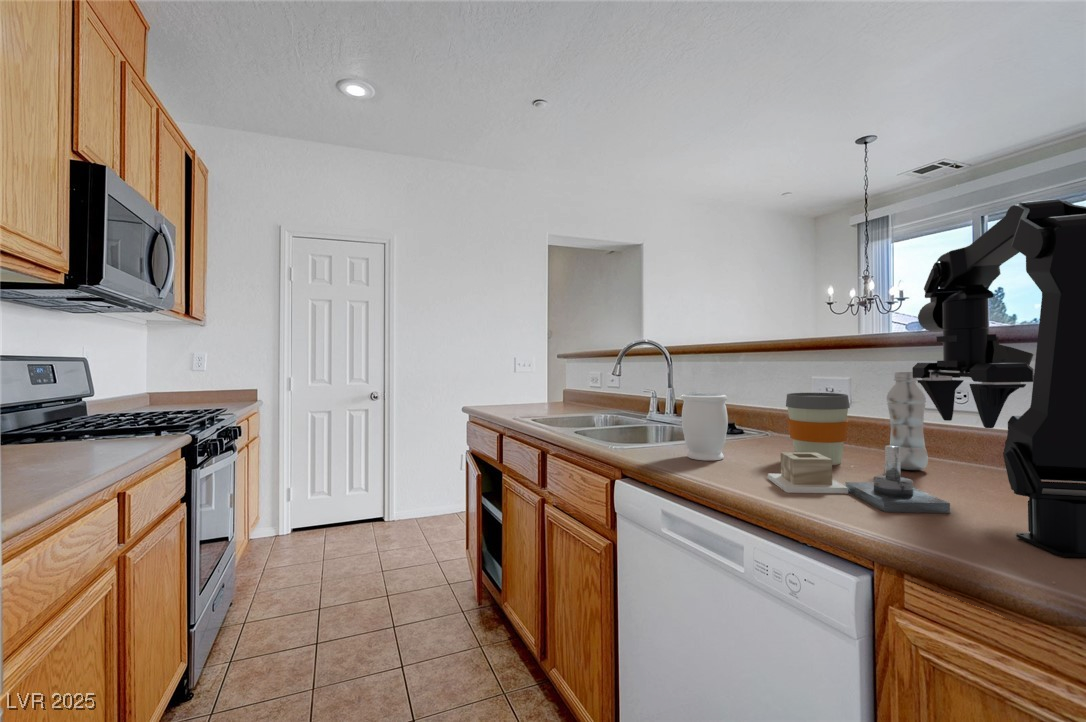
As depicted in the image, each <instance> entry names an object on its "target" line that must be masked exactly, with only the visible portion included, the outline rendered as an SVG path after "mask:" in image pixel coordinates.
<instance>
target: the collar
mask: <svg viewBox="0 0 1086 722" xmlns="http://www.w3.org/2000/svg"><path fill="white" fill-rule="evenodd" d="M780 474H781V476H782V477H783V478H785V479H786V480H788V481H789V482H791V483H792V484H794V485H832V479H833V465H832V459H830V458H828V457H825V456H823V455H821V454H819V453H816V452H793V451H791V452H789V451H788V452H787V451H785V452H784V451H782V452H780Z"/></svg>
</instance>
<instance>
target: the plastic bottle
mask: <svg viewBox="0 0 1086 722" xmlns="http://www.w3.org/2000/svg"><path fill="white" fill-rule="evenodd" d="M917 380H918V378H913V371H895V372H894V378H893V381H895V383H894V384H893V386H892V387H891V388H890V389H889V390H888V392H887V394H886V402H887V408H888V409H887V410H888V415H889V423H890V438H889V445H888V446H898V447H900V469H901V470H904V471H922V470H925V468H927V466H928V463H929V457H928V451H927V448H926V442H925V435H924V417H925V416H924V414H925V411H926V410H925V409H926V402H927V400H926V399H927V398H926V395H925V393H924V391H923V390H922V389H921V388H920V387H919V385H917V382H918V381H917Z"/></svg>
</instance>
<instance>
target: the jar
mask: <svg viewBox="0 0 1086 722" xmlns="http://www.w3.org/2000/svg"><path fill="white" fill-rule="evenodd" d="M680 398H681V400H682V401H683V404H682V408H681V427H682V432H683V438H684V443H685V445H686V447H687V449H688V451H687V452H686V457H687V458H689V459H692V460H696V461H705V462H706V461H707V462H708V461H709V462H712V461H720V460H724V458H725V456H724V454H723V452H722V451H723V449H724V448H725V444H726V440H727V431H728V425H729V424H728V423H729V417H728V410H727V409H728V408H727V405H726V401H727V400H728V396H727V394H722V393H686V394H685V393H684V394H681V397H680Z"/></svg>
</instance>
